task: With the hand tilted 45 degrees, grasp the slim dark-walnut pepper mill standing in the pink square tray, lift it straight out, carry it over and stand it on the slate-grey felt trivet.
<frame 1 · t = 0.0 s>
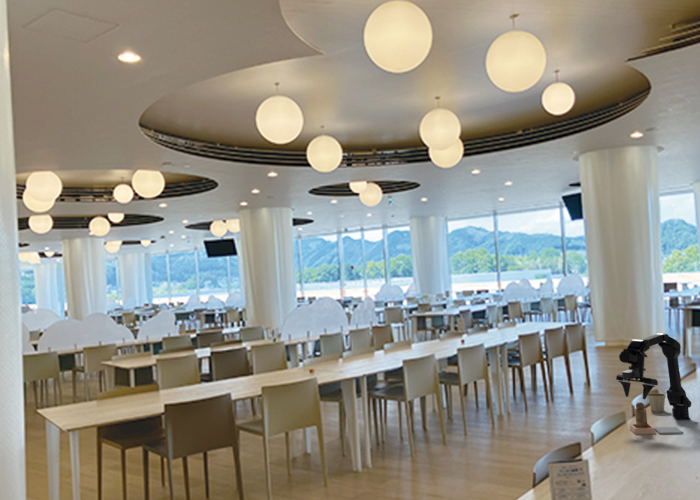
hand: (635, 397, 287), 15 cm above the table, tool pointing down, fingers open, 9 cm apart
trivet: (668, 431, 281), on the table
pink square tray: (642, 431, 284), on the table
flower pot: (657, 411, 321), on the table
pepper mill: (641, 416, 284), in the pink square tray
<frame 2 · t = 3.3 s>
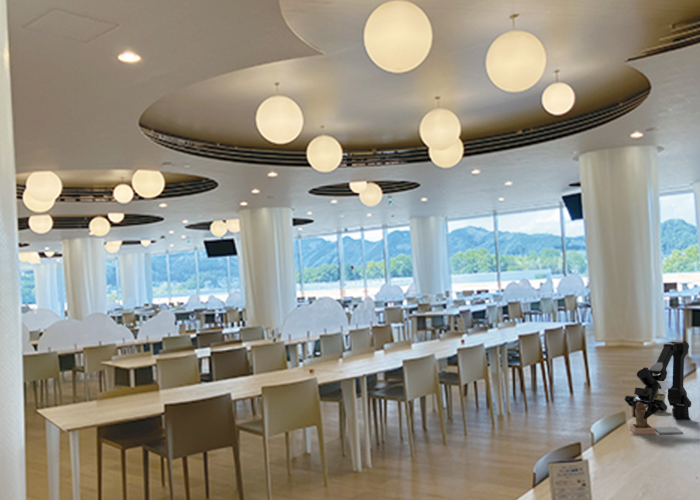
hand: (639, 417, 283), 7 cm above the table, tool tilted 45°, fingers closed on pepper mill, 5 cm apart
pepper mill: (641, 416, 284), in the pink square tray, touching gripper
everything else where it was.
when the fingers open (8 cm above the table, at t = 6.7 s): pepper mill moves 1 cm, resting on trivet.
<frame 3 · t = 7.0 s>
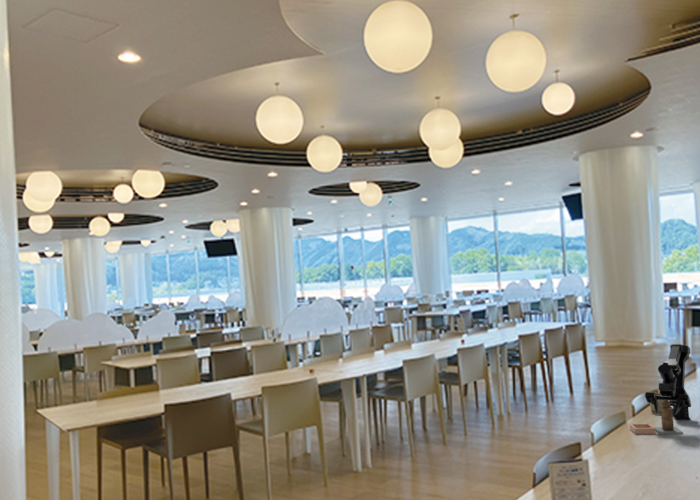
hand: (665, 413, 280), 9 cm above the table, tool tilted 45°, fingers open, 8 cm apart
pepper mill: (666, 414, 281), on the trivet, point 8 cm above the table
everything else where it was.
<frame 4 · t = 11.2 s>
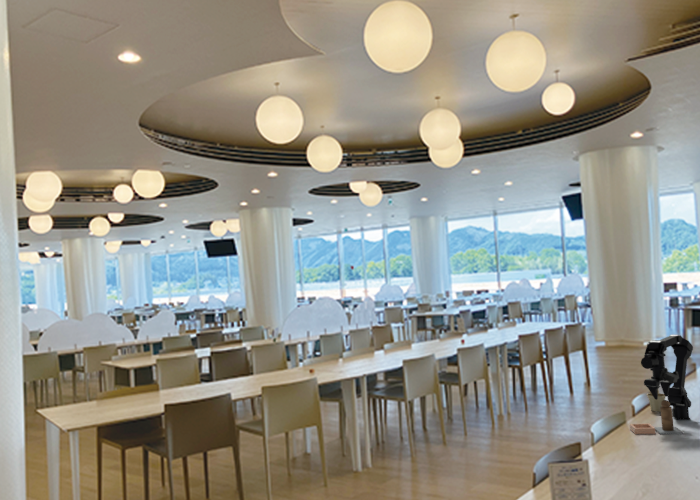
hand: (661, 397, 294), 13 cm above the table, tool pointing down, fingers open, 9 cm apart
nothing on the table moved.
at the end: pepper mill 0.1 cm from the trivet (horizontally); pepper mill tilted 0°; the gripper is holding nothing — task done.
